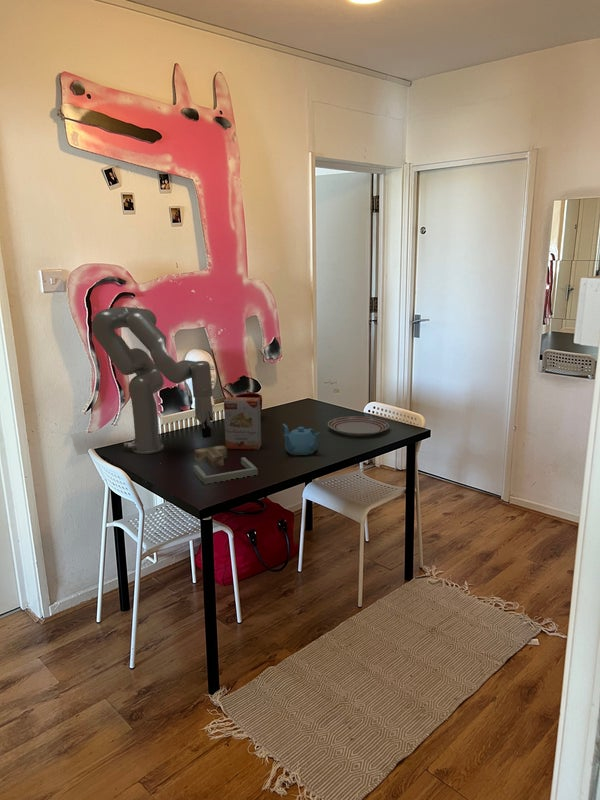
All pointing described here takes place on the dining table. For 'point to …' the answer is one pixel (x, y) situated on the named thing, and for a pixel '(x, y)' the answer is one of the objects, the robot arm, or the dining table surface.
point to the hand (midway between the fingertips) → (206, 436)
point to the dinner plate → (358, 425)
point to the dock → (249, 471)
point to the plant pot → (252, 395)
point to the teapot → (300, 441)
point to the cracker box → (242, 423)
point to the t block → (211, 455)
